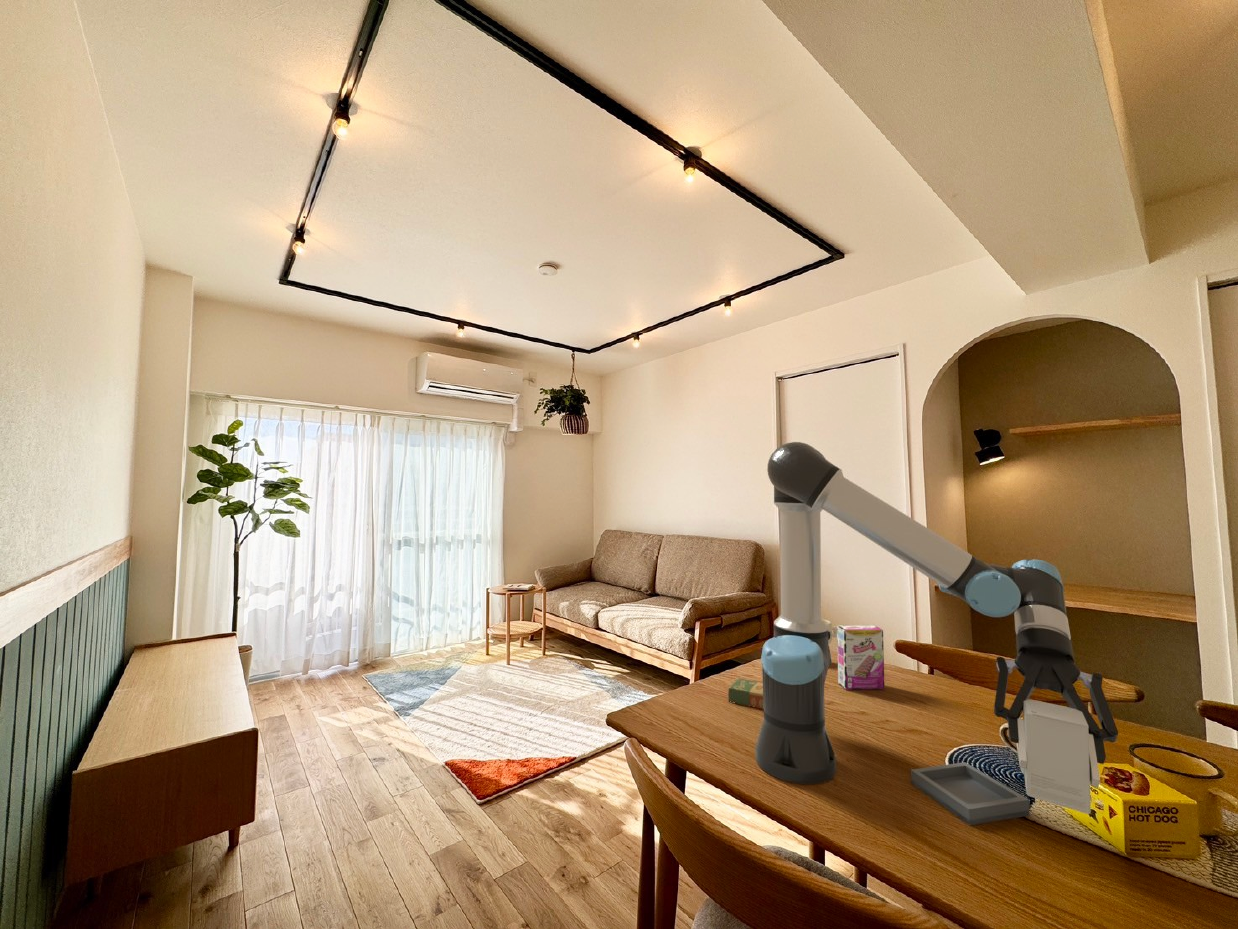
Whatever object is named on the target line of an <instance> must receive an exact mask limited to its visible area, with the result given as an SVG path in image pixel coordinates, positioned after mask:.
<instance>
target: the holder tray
mask: <svg viewBox="0 0 1238 929" xmlns="http://www.w3.org/2000/svg"><path fill="white" fill-rule="evenodd" d="M910 780H911V781H910V782H911V783H910V784H911V785H912V786H913V787H915V788H917V789H918V790H920V791H921V792H922V793H924V794H925V795H926V796H928V797H929V798H931V800H933V801H934V802H936V803H937V804H939V805H940V806H941V807H943V808H945V809H946V811H947V810H948V811H949V813H951V814H952V815H954V816H955V817H957V818H958V819H959V820H961V821H963V823H965V824H966V825H969V826H976V825H981V824H982V825H983V824H987V823H994V822H998V821H1004V820H1010V819H1016V818H1023V817H1029V816H1031V813H1030V812H1031V809H1030V799H1028V798H1027V797H1025V796H1023V795H1022V794H1020V793H1018V792H1017V791H1015V790H1014V789H1013V788H1010V787H1008V786H1007V785H1005V784H1003V783H1002V782H1000V781H998V780H996V779H995V778H993V777H991V776H990V775H987V774H986V773H984V772H983V771H982V770H979V769H977V768H976V767H974V766H972V765H970V764H969V763H967V762H965V761H963V762H957V763H951V764H950V763H949V764H948V763H947V764H941V765H937V766H936V765H935V766H934V765H933V766H928V767H922V768H921V767H920V768H915V769H913V768H911V769H910Z"/></svg>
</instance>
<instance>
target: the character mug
mask: <svg viewBox="0 0 1238 929" xmlns="http://www.w3.org/2000/svg"><path fill="white" fill-rule="evenodd" d="M821 619H822V618H821ZM822 621H823V622H824V623H825V624H826V625H827V626H828V647H829V651H830V652H831V650H830V646H829V644H831V643H832V641H833V638H837V626H833V625H832V622H831V621H829V620H827V619H822ZM830 656H831V653H830ZM831 657H832V656H831ZM830 664H832V659H831V660H830Z"/></svg>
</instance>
